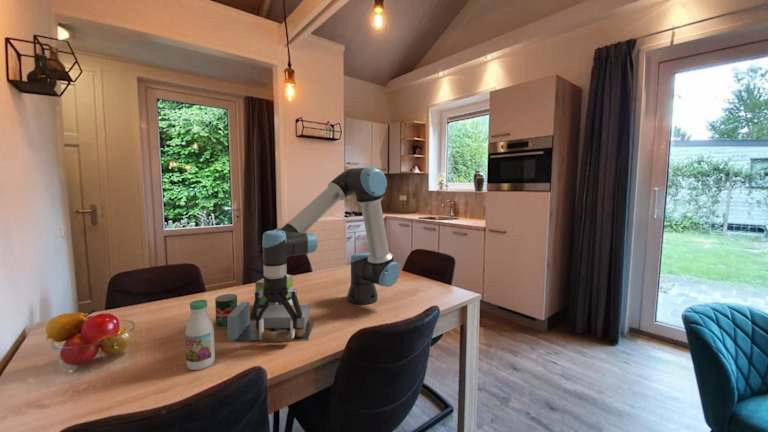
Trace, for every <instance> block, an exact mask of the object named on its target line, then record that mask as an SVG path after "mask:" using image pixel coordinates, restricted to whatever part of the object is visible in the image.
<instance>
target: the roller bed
mask: <svg viewBox="0 0 768 432" xmlns="http://www.w3.org/2000/svg"><path fill="white" fill-rule="evenodd" d="M310 320H311V316H309V318H308V321H307V323H306V326H305V328H296V329H294V330H295V336H294V338H293V339H292V340H291V341H309V339H310V336H311V333H312V329H313V328H314V325H315V321H310ZM275 331H291V328H264V332H275ZM233 341H234V342H258V341H259V342H261V340H260V337H259V330H257V329H256V321H250V323H249V325H248V326H247V327H246V328H245V330H244V331H243V332H242V333H241V334H240V336H239V337H238V338H237V339H235V340H233Z"/></svg>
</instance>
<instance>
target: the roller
mask: <svg viewBox="0 0 768 432" xmlns="http://www.w3.org/2000/svg"><path fill="white" fill-rule="evenodd" d="M292 341H293V340H292V339H291V331H275V332H262V334H261V341H260V342H264V343H265V342H292Z"/></svg>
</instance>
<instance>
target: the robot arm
mask: <svg viewBox="0 0 768 432" xmlns="http://www.w3.org/2000/svg"><path fill="white" fill-rule="evenodd" d="M387 187H388V182H387V177H386V176H385V173H384V172H383V171H382V170H380V169H378V168H374V167H370V166H369V167H357V168H356V167H355V168H352V167H351V168H349V169H346V170H345V171H343V172H341V173H340V174H338V175H337V176H336V177H334V179H332V180H331V181H330V182H328V184H327V187H326V189H324V190H323V191H322V192H321V193H320V194H319V195H318V196H316V197H315V198H314V199H313V200H312V201H311V202H309V204H307V205H306V206H305V207H304V208H303V209H302V210H300V211H299V212H298V213H297V214H296V215H295V216H294V217H293V218H292V219H290V220H289V221H287V223H286V224H285V225H284V226H282V227H279V228H275V229H273V230H268V231H265V232H263V234H262V241H261V242H262V244H261V246H262V259H263V261H262V262H263V267H262V268H263V269H262V270H263V276H264V277H263V278H264V291H260V290H257V291H256V292H254V303H253V306H252V309H251V312H250V321H251V320H254V321H255V322H256V329H257V330H259V337H260V340H261V334H262V332H264V318H261V317H262V315H263V313H264V312H265V310H266V308H267V306H268V305H269V303H270V302H271V303H275V302H276V303H280V302H281V304H282V305H283V306H284V307H285V309H286V310H287V312H288V313H289V315H290V316H291V318H292V319H291V321H290V328H291V339H293V338H294V336H295V330H294V329H296V328H297V319H300V318H301V317H302V311H301V308H300V305H301V304H300V302H299V299H298V296H297V294H298V292H297V291H298V290H297V289H292V290H288V288H287V276H286V275H288V273H287V268H288V267H287V258H289V257H293V256H299V255H308V254H311V253H314V252H316V251H317V248H318V247H319V246H318V242H319V241H318V239H317V238H318V237H317V236H316V234H315V233H313V232H307V231H308V230H310V228H311V227H313V226H314V225H315V224H316V223H317V222H318V221H319V220H320V219H321V218H322V217H323V216H324V215H326V214H327V213H328V212H329V210H331V209H332V208H333V207H334V206H336V205H337V203H339V201H340V202H341V201H344V200H345V199H346V198H347V197H349V196H353V195H354V196H355V199H356V203H358V204H359V205H360V208H361V213H362V218H363V222H364V223H363V224H364V228H365V229H364V230H365V235H366V240H367V245H368V246H367V247H368V252H367V251H365V252H364V251H363V252H359V253H358V252H357V253H353V254H352V255H351V258H350V286H349V288H348V291H347V294H346V298H347V299H346V301H347V302H349V303H350V304H353V305H354V304H355V305H370V304H374V303H376V302H377V301H378V300H379V299H378V298H379V294H378V291H377V287H376V285H378V286H380V287H386V288H389V287H392V286H394V285H395V284H396V283H397V282H398V279H399V278H400V275H401V266H400V264H399V263H398V262H396V261H395V260H394V254H393V253H391V252H390V251H389V244H388V239H387V238H388V237H387V232H386V227H385V221H384V215H383V209H382V203H381V201H382V200H383V198H384V194H385V193H386V189H387ZM287 294H289V295H290V297H292V305H294V308H295V311H296V313H295V311H294V310H293V308H292V306H291V305H290V303H289V302H288V299H287V298H286V296H287ZM262 295H264V296H265V297H266V298H267V300H266V301H265V303H264V305H263V307H262V309H261V311H260V312H259V314H258V315H256V314H257V310H258V306H259V302H260V299H261V297H262Z"/></svg>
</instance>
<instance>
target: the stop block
mask: <svg viewBox="0 0 768 432" xmlns="http://www.w3.org/2000/svg"><path fill="white" fill-rule="evenodd" d="M250 308H251V307H250V301H241V302H240V303H239V304H237V307H236V308H235V309H234V310H233V311H232V312H231V313H230V314H229V315H228V316H227V328H226V329H227V341H229V342H231V341H234V340H235V339H237V338H238V337H239V336H240V334H241V333H242V332H243V331H244V330H245V328H246V327H247V326H248V325H249V323H250V322H251V319H250V316H251V309H250Z"/></svg>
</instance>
